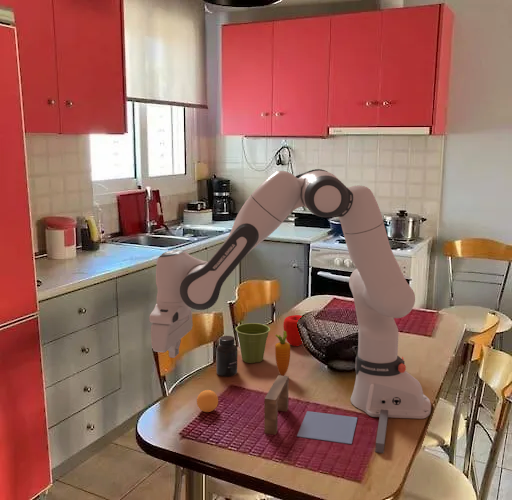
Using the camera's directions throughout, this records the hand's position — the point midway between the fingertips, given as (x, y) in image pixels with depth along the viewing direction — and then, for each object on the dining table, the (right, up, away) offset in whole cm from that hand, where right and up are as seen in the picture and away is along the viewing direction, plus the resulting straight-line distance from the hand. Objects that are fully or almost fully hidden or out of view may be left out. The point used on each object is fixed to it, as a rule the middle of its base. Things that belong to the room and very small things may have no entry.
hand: (174, 355), depth 162 cm
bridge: (+29, -17, -5) cm, 33 cm away
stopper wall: (+56, -18, -12) cm, 60 cm away
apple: (+37, -5, +51) cm, 63 cm away
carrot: (+31, -11, +23) cm, 41 cm away
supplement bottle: (+14, -11, +26) cm, 31 cm away
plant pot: (+22, -8, +37) cm, 44 cm away
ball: (+9, -13, 0) cm, 16 cm away
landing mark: (+42, -17, -8) cm, 46 cm away
